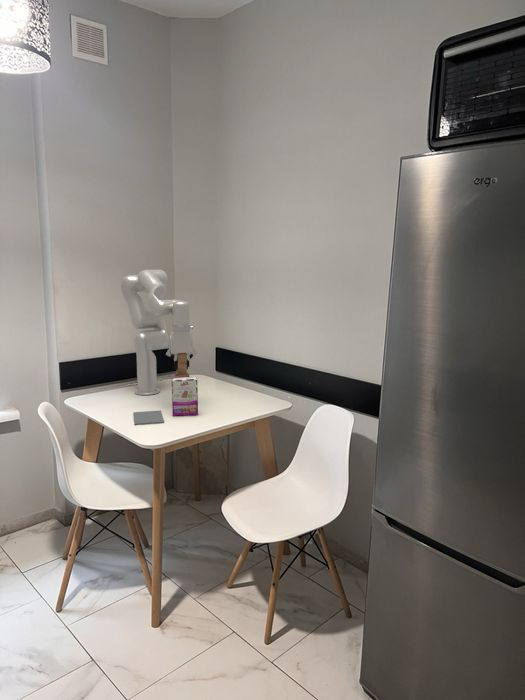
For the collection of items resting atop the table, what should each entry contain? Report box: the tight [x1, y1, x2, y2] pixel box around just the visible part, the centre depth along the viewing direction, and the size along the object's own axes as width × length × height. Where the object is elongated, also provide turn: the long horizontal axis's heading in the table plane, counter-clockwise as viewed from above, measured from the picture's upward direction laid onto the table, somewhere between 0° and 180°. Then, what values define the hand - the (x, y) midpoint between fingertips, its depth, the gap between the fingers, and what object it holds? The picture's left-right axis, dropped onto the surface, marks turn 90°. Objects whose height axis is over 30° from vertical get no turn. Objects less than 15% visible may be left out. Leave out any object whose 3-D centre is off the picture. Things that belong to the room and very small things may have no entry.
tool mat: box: [133, 410, 165, 426], centre depth 219 cm, size 16×12×1 cm
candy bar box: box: [171, 376, 199, 417], centre depth 224 cm, size 11×5×16 cm, turn 101°
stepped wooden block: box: [174, 353, 190, 378], centre depth 231 cm, size 6×6×12 cm
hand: (181, 368), depth 231 cm, fingers closed on stepped wooden block, 4 cm apart
